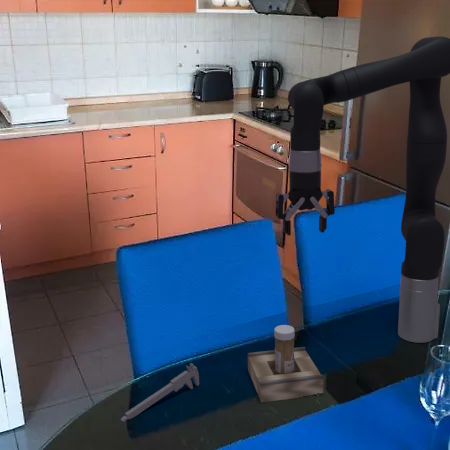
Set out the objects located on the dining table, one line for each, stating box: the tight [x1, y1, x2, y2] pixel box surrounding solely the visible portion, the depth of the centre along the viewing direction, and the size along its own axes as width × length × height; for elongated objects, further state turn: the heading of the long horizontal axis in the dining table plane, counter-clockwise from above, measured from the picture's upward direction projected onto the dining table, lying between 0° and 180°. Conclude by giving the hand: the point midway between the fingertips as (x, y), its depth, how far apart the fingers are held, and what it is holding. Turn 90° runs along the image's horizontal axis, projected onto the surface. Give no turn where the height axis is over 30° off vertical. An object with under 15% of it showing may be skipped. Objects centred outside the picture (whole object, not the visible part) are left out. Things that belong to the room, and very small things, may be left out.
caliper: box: [120, 362, 200, 423], centre depth 129 cm, size 20×1×6 cm, turn 131°
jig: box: [247, 346, 324, 403], centre depth 135 cm, size 14×14×5 cm
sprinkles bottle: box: [273, 324, 296, 375], centre depth 134 cm, size 5×5×14 cm
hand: (304, 233), depth 145 cm, fingers open, 8 cm apart
